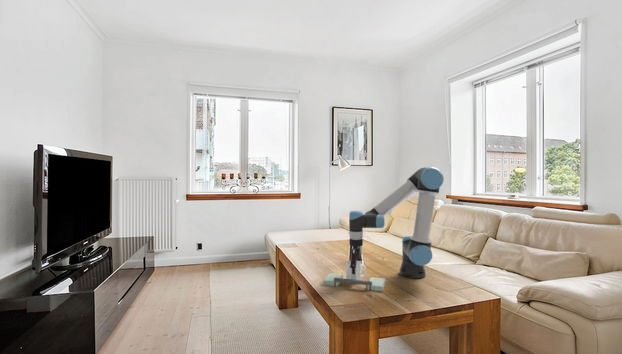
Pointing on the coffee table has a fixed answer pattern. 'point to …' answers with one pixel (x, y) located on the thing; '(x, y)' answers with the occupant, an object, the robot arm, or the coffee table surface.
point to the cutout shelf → (375, 281)
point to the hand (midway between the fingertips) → (356, 275)
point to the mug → (358, 270)
